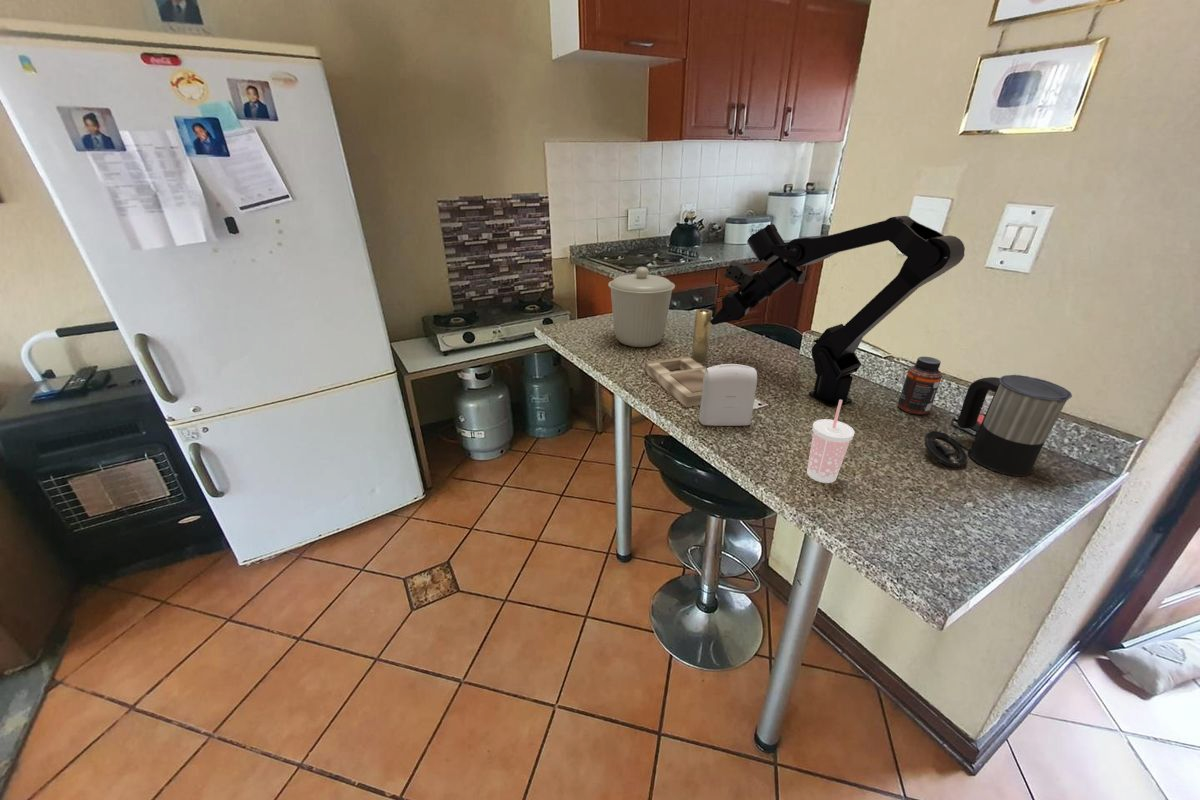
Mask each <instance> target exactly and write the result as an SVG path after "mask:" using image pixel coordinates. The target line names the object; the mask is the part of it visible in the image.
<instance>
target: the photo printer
mask: <svg viewBox="0 0 1200 800" xmlns="http://www.w3.org/2000/svg"><path fill="white" fill-rule="evenodd" d="M757 384H758V372H757V370H756V368H754V367H752V366H749V365H745V364H744V365H743V364H737V363H723V364H717V365H716V364H715V365H713V366H710V367H707V368H706V371H705V375H704V378H703V388H702V397H701V405H700V408H699V417H698V418H699V419H698V421H699V423H700V424H702V425H703V426H716V427H717V426H721V427H722V426H724V427H725V426H731V427H732V426H735V427H736V426H739V427H740V426H750V425H751V422H752V415H753V411H754V410H753V409H754V404H755V399H756V398H755V396H756V392H757V391H756V390H757Z"/></svg>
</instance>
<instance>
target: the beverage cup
mask: <svg viewBox="0 0 1200 800" xmlns="http://www.w3.org/2000/svg"><path fill="white" fill-rule="evenodd" d="M842 401H843V400H839V403H838V405H837V407H836V412H835V415H834V418H833V419H829V418H826V419H825V418H823V419H817V420H815V421H813V424H812V428H811V429H812V438H811V445H810V451H809V456H808V463H807V469H806V473H807V476H808V477H809V478H810V479H813V480H814V481H816V482H819V483H822V484H831V483H834V482H835V481H837V477H838V475H839V472H840V469H841V467H842V464H843V462H844V458H845V457H846V453H847V450H848V448H849V445H850V442H851V441H853V438H854V435H855V433H856V432H855V430H854V428H853V427H852V426H850V425H849V424H847V423H845V422H842V421H840V420H839V415H840V412H841V408H842V405H843V404H842Z"/></svg>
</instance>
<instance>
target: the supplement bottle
mask: <svg viewBox="0 0 1200 800" xmlns="http://www.w3.org/2000/svg"><path fill="white" fill-rule="evenodd" d="M915 363H916V364H914V365H912V366H910V367H909V368H908V370H907V373H906V375H905V379H904V382H903V385H902V388H901V392H900V395H899V399H898V402H897V407H898V408H899V409H901V410H902V411H903V412H905V413H908V414H912V415H918V416H919V415H927V414H929V413H930V412H931V408H932V406H933V403H934V401H935V397H936V395H937V391H938V389H939V386H940V383H941V381H942V380H941V379H942V377H943V374H942V372H941V371H940V370H939V369H940V366H941V363H942V362H941V360H939V358H935V357H931V356H918V357H917V360H916V362H915Z"/></svg>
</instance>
